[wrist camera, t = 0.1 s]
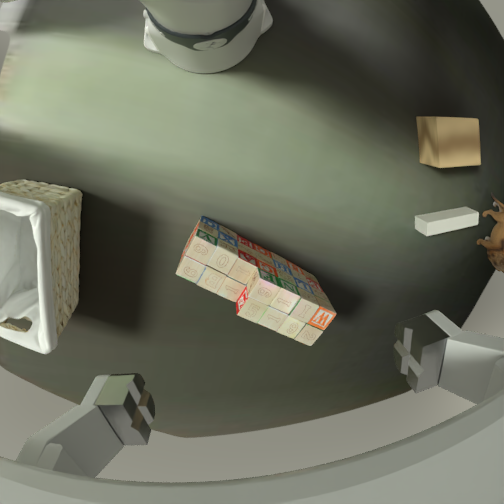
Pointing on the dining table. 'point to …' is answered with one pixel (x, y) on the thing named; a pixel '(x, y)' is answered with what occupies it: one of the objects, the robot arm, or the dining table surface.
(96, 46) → the dining table surface
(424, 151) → the oak block
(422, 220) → the fence board
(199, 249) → the stack of blocks
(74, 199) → the storage basket
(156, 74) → the dining table surface
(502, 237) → the lion figurine
